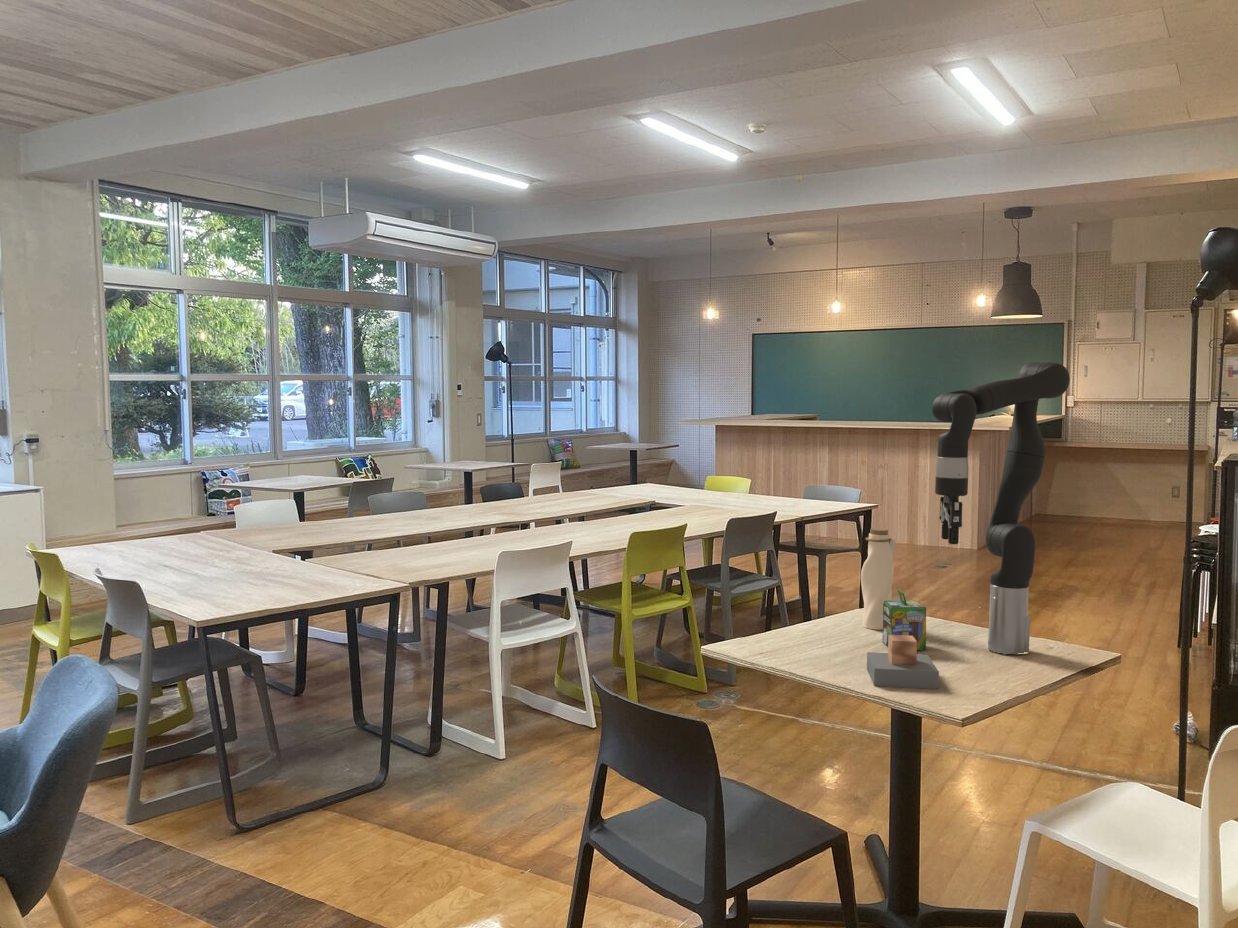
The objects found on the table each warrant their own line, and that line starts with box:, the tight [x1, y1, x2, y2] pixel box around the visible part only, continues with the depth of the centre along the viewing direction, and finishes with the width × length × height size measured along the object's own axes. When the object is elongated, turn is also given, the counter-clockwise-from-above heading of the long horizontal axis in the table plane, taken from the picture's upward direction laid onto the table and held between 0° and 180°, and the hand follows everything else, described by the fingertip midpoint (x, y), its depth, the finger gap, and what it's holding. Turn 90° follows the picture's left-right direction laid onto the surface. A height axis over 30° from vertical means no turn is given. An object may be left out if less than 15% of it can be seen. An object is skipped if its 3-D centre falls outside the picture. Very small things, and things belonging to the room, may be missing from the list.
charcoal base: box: [866, 651, 940, 690], centre depth 220 cm, size 14×14×4 cm
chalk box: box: [882, 589, 927, 651], centre depth 248 cm, size 9×9×15 cm
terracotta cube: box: [887, 635, 918, 665], centre depth 219 cm, size 6×6×6 cm
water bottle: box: [860, 527, 896, 631], centre depth 270 cm, size 10×9×28 cm
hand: (949, 541), depth 232 cm, fingers open, 8 cm apart
